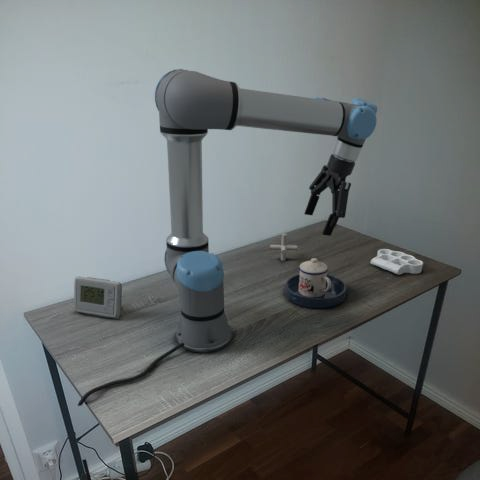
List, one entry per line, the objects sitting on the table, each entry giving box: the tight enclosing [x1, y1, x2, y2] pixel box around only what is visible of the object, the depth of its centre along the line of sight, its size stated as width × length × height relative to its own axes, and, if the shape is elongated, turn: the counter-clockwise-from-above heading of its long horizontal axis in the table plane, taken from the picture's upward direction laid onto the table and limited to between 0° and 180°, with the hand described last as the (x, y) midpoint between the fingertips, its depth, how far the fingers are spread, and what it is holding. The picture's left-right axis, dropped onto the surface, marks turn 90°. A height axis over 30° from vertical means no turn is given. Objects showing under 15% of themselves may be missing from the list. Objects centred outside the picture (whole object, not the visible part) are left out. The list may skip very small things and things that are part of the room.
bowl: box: [284, 273, 347, 309], centre depth 145 cm, size 19×19×3 cm
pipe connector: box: [269, 233, 298, 262], centre depth 168 cm, size 10×10×10 cm
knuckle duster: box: [370, 248, 424, 276], centre depth 164 cm, size 3×18×15 cm
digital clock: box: [73, 275, 123, 319], centre depth 135 cm, size 16×9×11 cm, turn 60°
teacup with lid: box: [298, 257, 331, 298], centre depth 143 cm, size 12×9×12 cm
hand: (316, 224), depth 141 cm, fingers open, 13 cm apart
